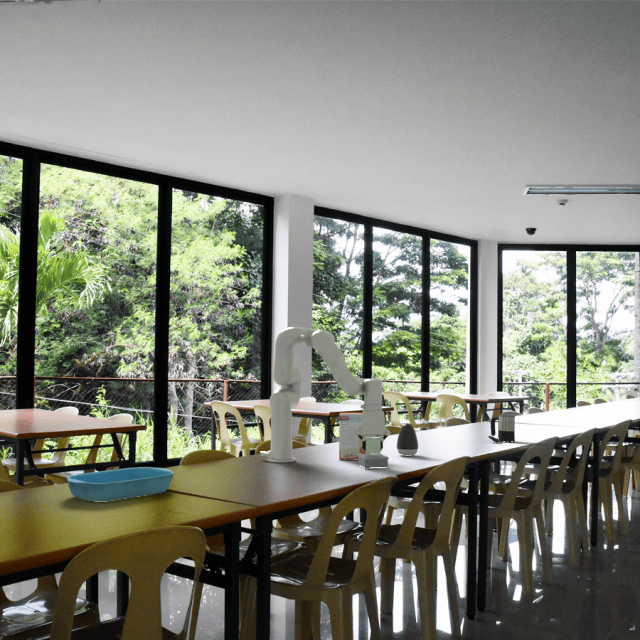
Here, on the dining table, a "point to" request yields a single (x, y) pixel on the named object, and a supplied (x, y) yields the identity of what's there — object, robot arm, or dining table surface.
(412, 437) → the dark grey rounded piece
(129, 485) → the casserole dish
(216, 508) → the dining table surface
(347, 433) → the cracker box
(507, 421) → the milk frother
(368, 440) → the green cube
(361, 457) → the grey storage box
